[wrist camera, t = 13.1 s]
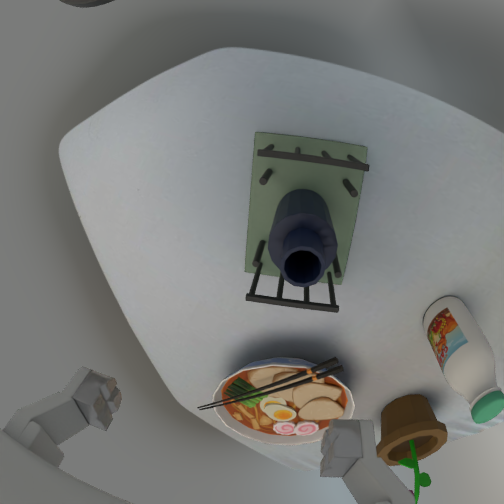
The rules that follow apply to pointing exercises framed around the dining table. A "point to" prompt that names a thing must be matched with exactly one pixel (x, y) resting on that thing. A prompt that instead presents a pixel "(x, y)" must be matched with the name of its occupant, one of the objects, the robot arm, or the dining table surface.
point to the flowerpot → (410, 435)
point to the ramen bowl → (283, 400)
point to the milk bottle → (464, 356)
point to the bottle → (302, 238)
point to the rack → (302, 177)
